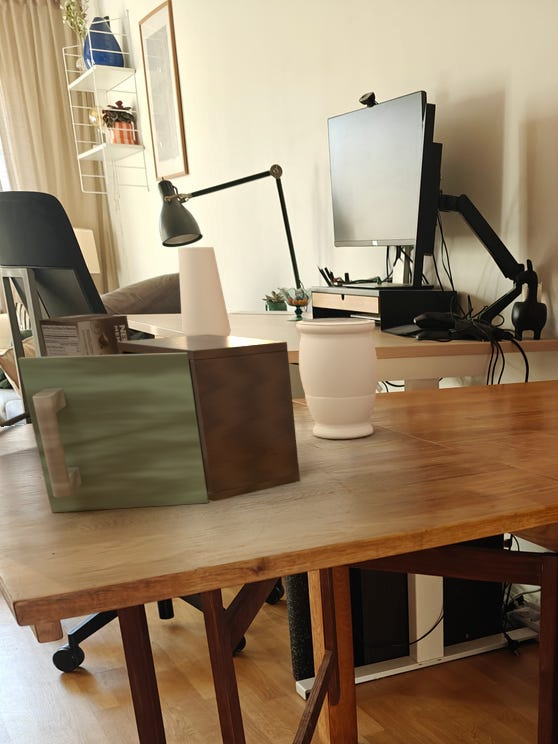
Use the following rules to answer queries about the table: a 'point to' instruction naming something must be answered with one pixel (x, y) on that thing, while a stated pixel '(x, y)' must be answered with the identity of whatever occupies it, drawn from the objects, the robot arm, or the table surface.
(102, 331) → the coffee box
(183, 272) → the white tapered column
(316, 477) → the table surface
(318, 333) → the jar
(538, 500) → the table surface
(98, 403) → the cupboard door
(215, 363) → the cupboard
